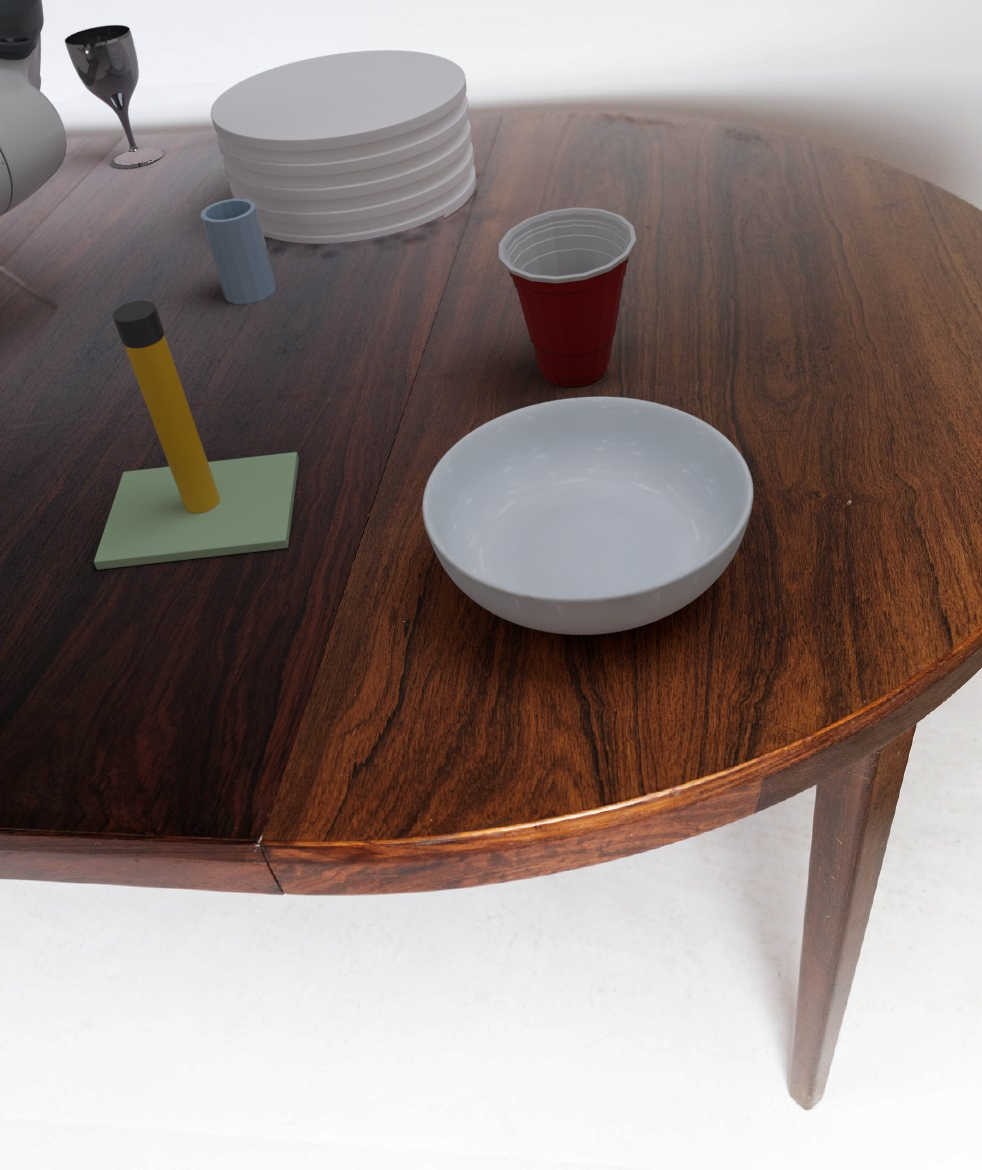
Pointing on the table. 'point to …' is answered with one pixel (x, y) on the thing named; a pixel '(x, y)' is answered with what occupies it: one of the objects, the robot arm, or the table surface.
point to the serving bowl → (588, 513)
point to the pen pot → (239, 250)
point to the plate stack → (349, 144)
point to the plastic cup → (570, 287)
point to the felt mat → (200, 514)
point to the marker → (167, 403)
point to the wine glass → (108, 71)
